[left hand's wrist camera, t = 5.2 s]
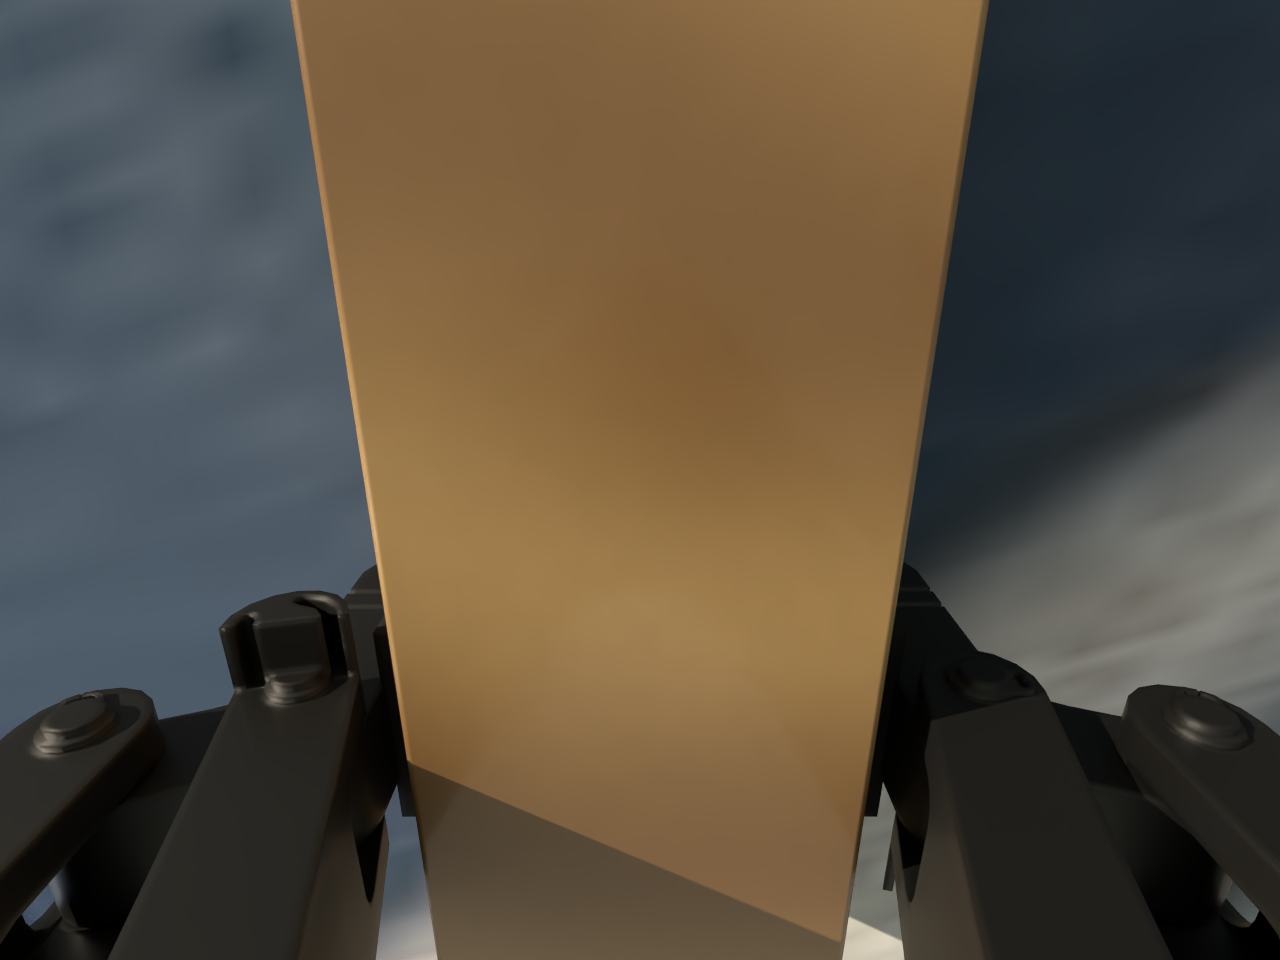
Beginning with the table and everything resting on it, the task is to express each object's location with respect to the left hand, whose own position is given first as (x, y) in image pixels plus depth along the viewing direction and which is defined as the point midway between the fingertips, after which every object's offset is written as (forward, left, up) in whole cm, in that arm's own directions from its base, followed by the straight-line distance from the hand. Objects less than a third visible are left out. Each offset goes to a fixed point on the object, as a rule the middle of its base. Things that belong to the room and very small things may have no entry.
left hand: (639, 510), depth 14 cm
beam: (+9, +26, -1) cm, 28 cm away
